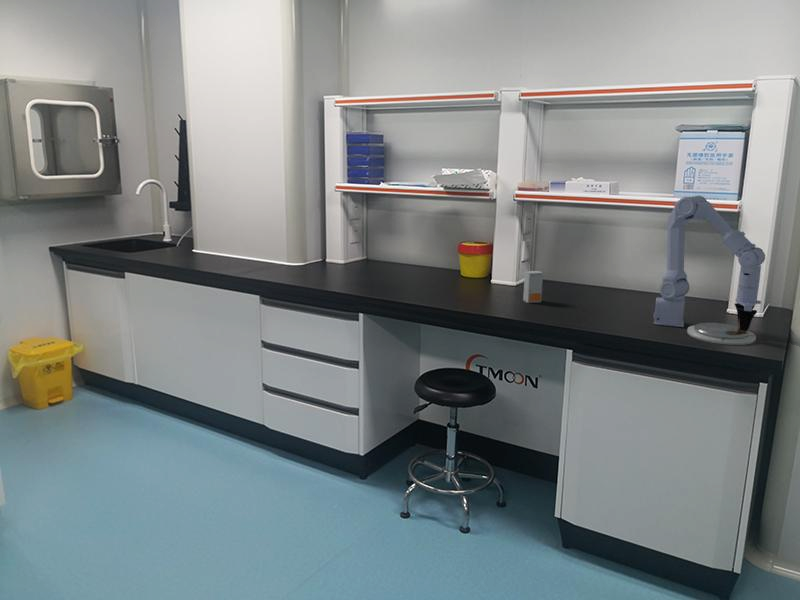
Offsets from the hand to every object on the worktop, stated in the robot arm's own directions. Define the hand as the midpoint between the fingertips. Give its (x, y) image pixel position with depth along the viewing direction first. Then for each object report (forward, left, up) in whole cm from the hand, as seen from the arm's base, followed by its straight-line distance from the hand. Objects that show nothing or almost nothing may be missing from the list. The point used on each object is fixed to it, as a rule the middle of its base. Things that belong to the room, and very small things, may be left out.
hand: (742, 328), depth 206 cm
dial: (-6, 0, -2) cm, 6 cm away
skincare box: (-72, +24, -4) cm, 76 cm away
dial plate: (-6, 0, -3) cm, 7 cm away
